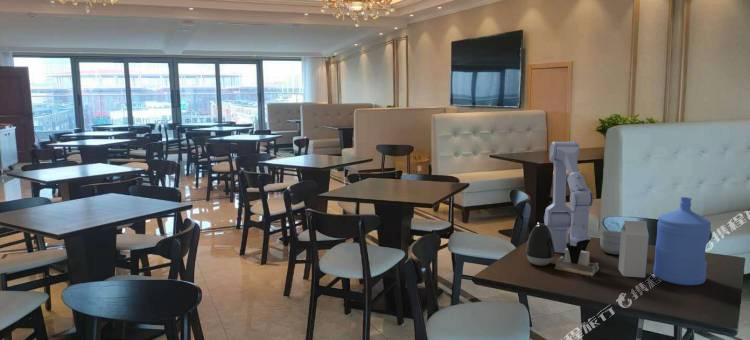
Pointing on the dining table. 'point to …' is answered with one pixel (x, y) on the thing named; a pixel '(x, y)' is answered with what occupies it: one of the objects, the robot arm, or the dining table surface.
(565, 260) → the door panel
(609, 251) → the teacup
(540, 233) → the egg shaped speaker
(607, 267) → the dining table surface
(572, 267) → the door frame
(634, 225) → the milk carton
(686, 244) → the water jug
